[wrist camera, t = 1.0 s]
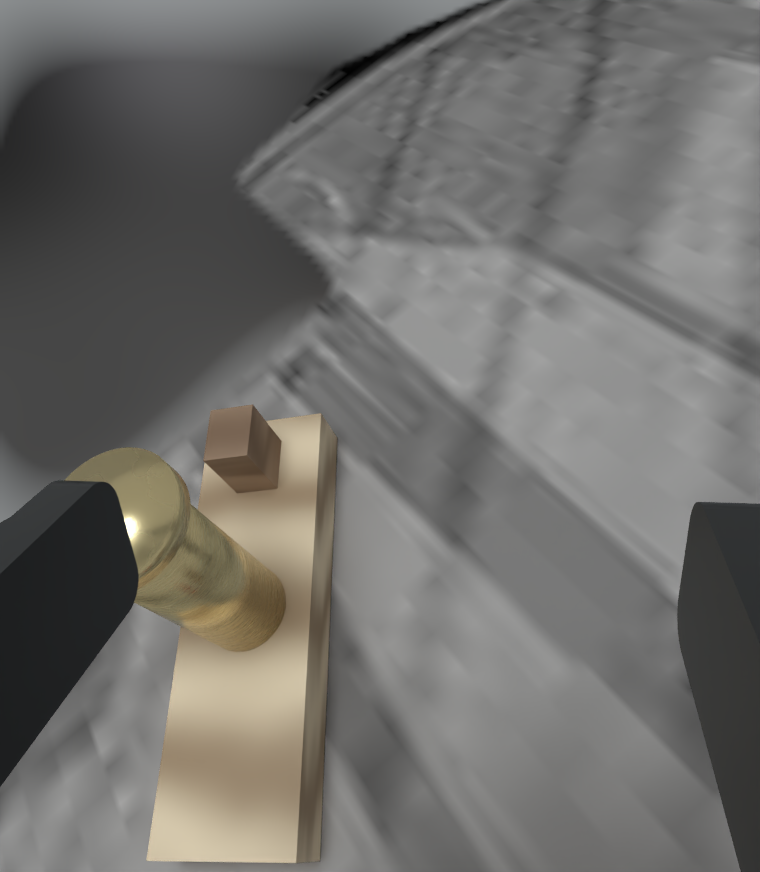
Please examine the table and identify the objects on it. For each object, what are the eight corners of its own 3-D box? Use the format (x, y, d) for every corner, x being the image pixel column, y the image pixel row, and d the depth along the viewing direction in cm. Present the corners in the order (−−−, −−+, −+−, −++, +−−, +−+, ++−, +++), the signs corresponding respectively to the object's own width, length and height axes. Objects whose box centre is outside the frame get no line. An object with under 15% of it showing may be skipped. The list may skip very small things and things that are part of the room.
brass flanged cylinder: (243, 536, 38) (114, 424, 28) (319, 591, 35) (206, 490, 25) (173, 623, 36) (11, 539, 26) (247, 688, 34) (97, 622, 24)
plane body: (231, 452, 44) (175, 393, 39) (337, 438, 43) (296, 374, 37) (180, 859, 33) (91, 862, 28) (320, 861, 32) (257, 865, 26)
